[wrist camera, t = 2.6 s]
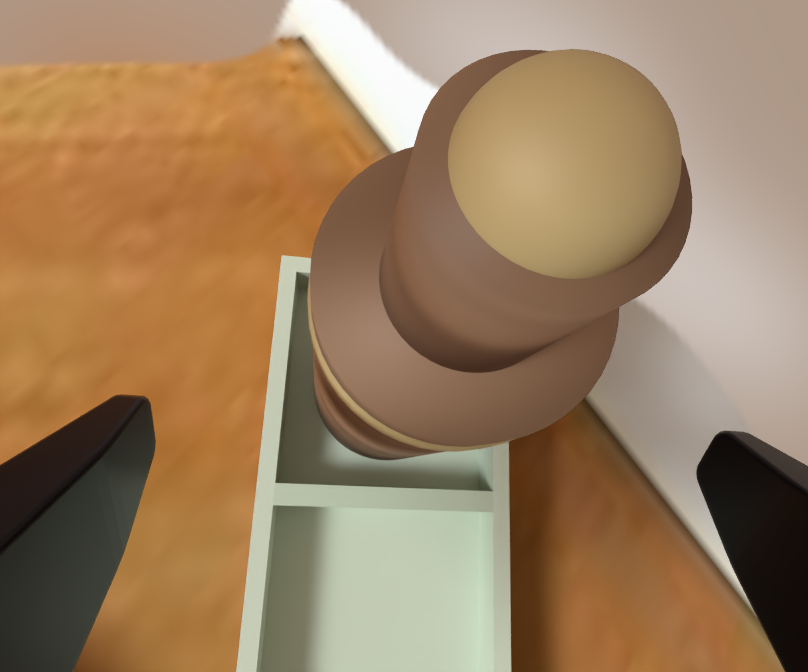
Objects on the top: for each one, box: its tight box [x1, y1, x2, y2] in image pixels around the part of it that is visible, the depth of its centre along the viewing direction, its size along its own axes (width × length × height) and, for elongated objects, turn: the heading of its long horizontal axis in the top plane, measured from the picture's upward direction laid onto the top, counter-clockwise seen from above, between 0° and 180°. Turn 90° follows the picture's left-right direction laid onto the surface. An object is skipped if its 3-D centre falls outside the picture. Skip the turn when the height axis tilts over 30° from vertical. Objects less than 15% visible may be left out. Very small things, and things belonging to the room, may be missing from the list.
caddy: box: [236, 255, 511, 672], centre depth 16 cm, size 14×7×2 cm, turn 177°
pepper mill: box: [307, 49, 692, 461], centre depth 11 cm, size 5×5×14 cm
